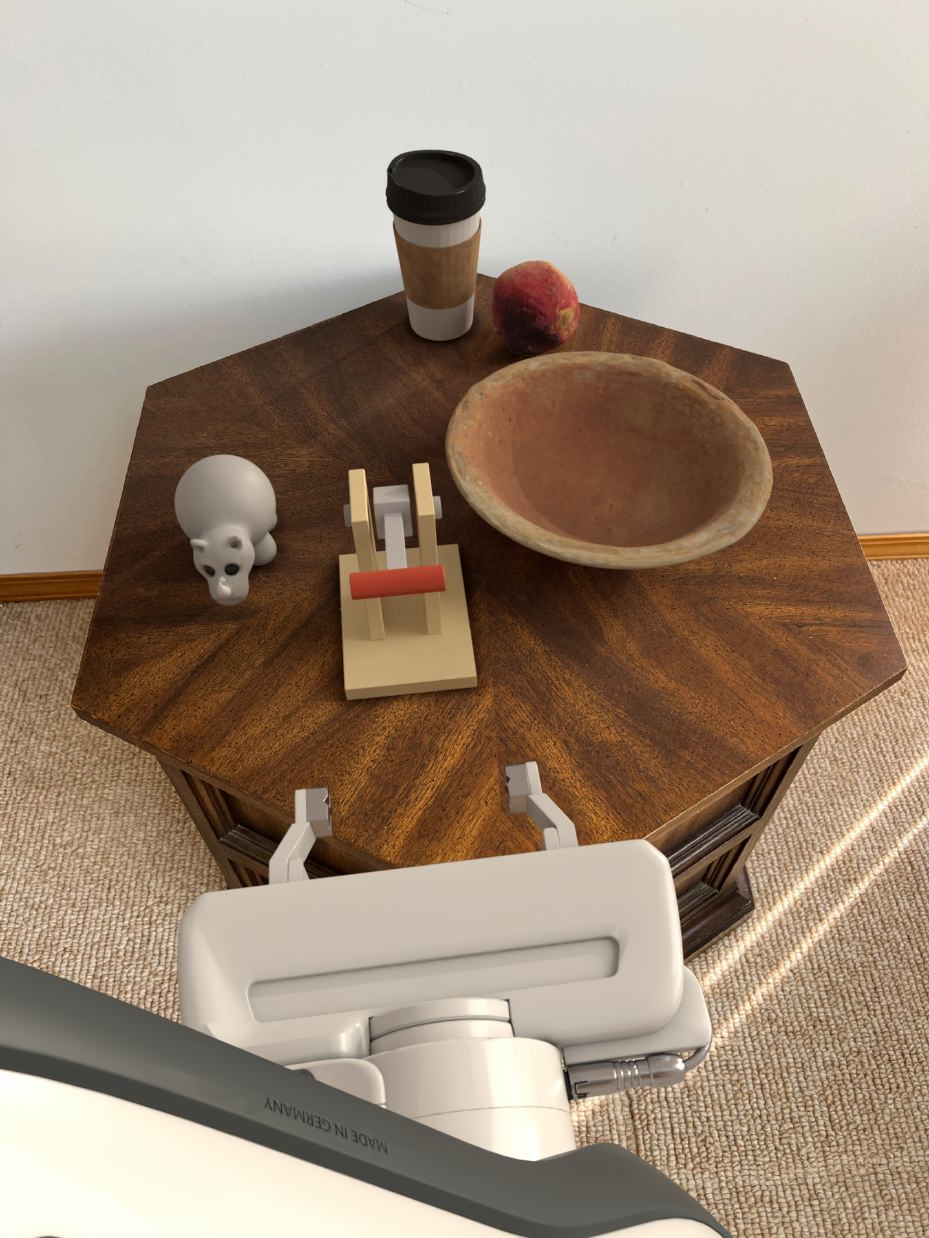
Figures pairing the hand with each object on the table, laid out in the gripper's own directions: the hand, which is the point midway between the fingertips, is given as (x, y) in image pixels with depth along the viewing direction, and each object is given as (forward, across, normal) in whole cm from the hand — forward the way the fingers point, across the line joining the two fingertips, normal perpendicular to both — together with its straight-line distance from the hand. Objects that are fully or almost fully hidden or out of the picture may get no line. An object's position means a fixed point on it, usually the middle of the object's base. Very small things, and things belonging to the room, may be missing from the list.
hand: (417, 780), depth 43 cm
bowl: (+30, -16, +16) cm, 38 cm away
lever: (+16, 0, +3) cm, 17 cm away
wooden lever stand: (+21, 0, +16) cm, 27 cm away
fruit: (+51, -14, +16) cm, 55 cm away
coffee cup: (+56, -6, +16) cm, 59 cm away
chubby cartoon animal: (+28, +12, +16) cm, 34 cm away
